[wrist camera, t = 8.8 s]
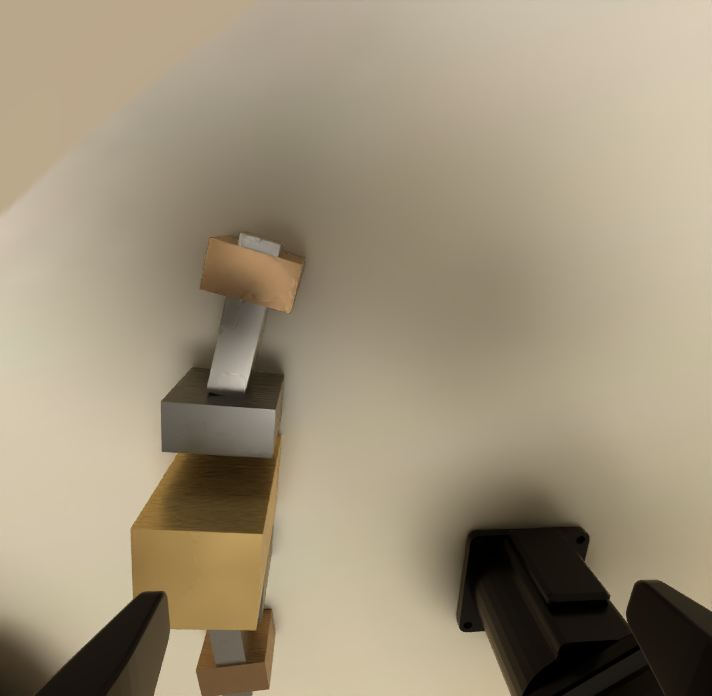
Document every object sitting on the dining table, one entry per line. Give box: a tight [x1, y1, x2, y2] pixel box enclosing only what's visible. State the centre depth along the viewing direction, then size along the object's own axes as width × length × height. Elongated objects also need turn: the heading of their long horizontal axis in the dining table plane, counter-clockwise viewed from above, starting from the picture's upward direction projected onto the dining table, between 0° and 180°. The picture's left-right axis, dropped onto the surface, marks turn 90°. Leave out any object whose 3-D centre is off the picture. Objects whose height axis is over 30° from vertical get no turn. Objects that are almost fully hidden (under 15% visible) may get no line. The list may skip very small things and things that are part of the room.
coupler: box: [131, 434, 282, 630], centre depth 16 cm, size 4×4×6 cm
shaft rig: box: [161, 232, 306, 696], centre depth 18 cm, size 22×4×4 cm, turn 173°
